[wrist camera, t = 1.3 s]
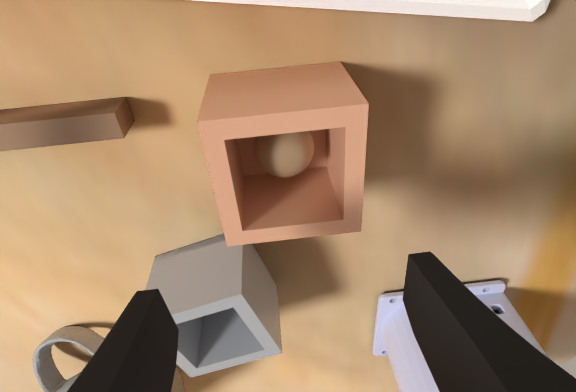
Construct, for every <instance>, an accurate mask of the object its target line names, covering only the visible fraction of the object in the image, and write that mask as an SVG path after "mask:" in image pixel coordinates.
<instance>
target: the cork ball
mask: <svg viewBox="0 0 576 392" xmlns="http://www.w3.org/2000/svg"><path fill="white" fill-rule="evenodd" d="M253 149H254V155H255V158H256V160H257V162H258V164H259V165H260V167H261V168H262V169H263V170H264V171H266V172H267V173H269V174H270V175H273V176H276V177H282V178H285V177H292V176H295V175H297V174H299V173H300V172H302V171H303V170H304V169H305V168H306V167H307V166H308V165H309V163H310V161H311V159H312V157H313V152H314V142H313V137H312V135H311V133H310V131H303V132H294V133H285V134H275V135H266V136H257V137H255V139H254V145H253Z"/></svg>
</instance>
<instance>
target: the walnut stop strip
mask: <svg viewBox="0 0 576 392" xmlns="http://www.w3.org/2000/svg"><path fill="white" fill-rule="evenodd" d="M134 121H135V120H134V118H133V115H132V112H131V109H130V106H129V104H128V101H127V98H126V97H121V98H111V99H101V100H92V101H82V102H72V103H63V104H53V105H43V106H34V107H24V108H14V109H5V110H0V151H7V150H17V149H26V148H35V147H45V146H54V145H64V144H73V143H83V142H92V141H101V140H111V139H120V138H125V136H126V134H127V133H128V131H129V129H130V128H131V126H132V124H133V123H134Z"/></svg>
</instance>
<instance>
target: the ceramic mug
mask: <svg viewBox="0 0 576 392" xmlns="http://www.w3.org/2000/svg"><path fill="white" fill-rule="evenodd" d="M104 339H105V338H103V337H101V336H100V335H99V334H97V333H95V332H94V331H93V330H90V329H88V328H85V327H81V326H68V327H64V328H61V329H59V330H57V331H55V332H54V333H53V334H52V335H50V336H49V337H48V338H47V339H46V340H44V341H43V342H42V343H41V344H40V345H39V346H38V347H37V349H36V350H35V352H34V355H33V367H34V372H35V375H36V377H37V380H38V382H39V384H40V386H41V388H42V389H43V390H44V392H67V391H68V389H69V388H70V387H71V385H72V384H73V383H74V381H75V380H76V379H77V377H78V376H79V375H80V373H81V372H80V373H78V374H77V375H75V376H73V377H72V378H70V379H68V380H65V379H64V378H63V376H62V375H61V374H60V372H59V371H58V369H57V367H56V366H55V363H54V361H53V358H52V354H51V347H52V345H53V344H55V343H56V342H72V343H74V344H77V345H79V346H80V347H82V348H83V349H85V350H86V351H87V352H88V353H89V354H91V355H92V356H93V355H94V354H95V352H96V351H97V349H98V348H99V346H100V345H101V344H102V342H103V341H104ZM171 392H185V389H184V383H183V379H182V376H181V373H180V371H179V369H178V367H177V366H176V369H175V374H174V379H173V385H172V390H171Z"/></svg>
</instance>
